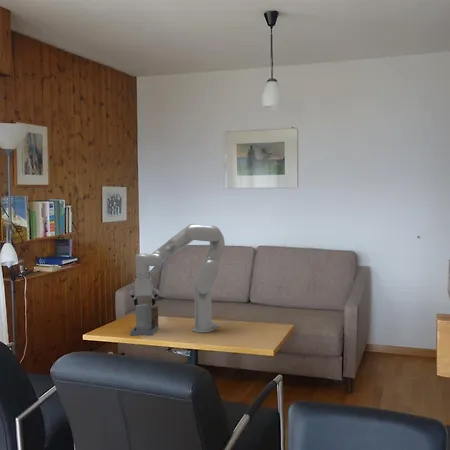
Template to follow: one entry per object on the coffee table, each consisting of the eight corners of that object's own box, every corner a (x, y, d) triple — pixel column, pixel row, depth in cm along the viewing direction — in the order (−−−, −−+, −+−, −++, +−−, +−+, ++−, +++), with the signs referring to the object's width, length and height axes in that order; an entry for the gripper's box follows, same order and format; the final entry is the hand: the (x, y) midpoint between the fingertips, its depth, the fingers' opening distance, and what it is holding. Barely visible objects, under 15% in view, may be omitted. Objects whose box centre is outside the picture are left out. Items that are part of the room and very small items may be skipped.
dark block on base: (158, 328, 318) (157, 305, 318) (157, 329, 314) (156, 307, 313) (138, 328, 319) (137, 305, 318) (136, 330, 314) (135, 307, 314)
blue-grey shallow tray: (157, 329, 314) (157, 325, 314) (153, 335, 300) (153, 331, 300) (136, 329, 315) (135, 325, 315) (130, 335, 301) (130, 331, 301)
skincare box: (146, 334, 302) (146, 305, 302) (134, 333, 304) (134, 305, 304) (152, 330, 310) (152, 303, 310) (141, 330, 312) (141, 302, 312)
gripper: (159, 274, 309) (161, 304, 310) (129, 275, 311) (131, 305, 311) (157, 275, 302) (158, 306, 303) (126, 277, 303) (128, 307, 304)
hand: (144, 305), depth 307 cm, fingers open, 9 cm apart
